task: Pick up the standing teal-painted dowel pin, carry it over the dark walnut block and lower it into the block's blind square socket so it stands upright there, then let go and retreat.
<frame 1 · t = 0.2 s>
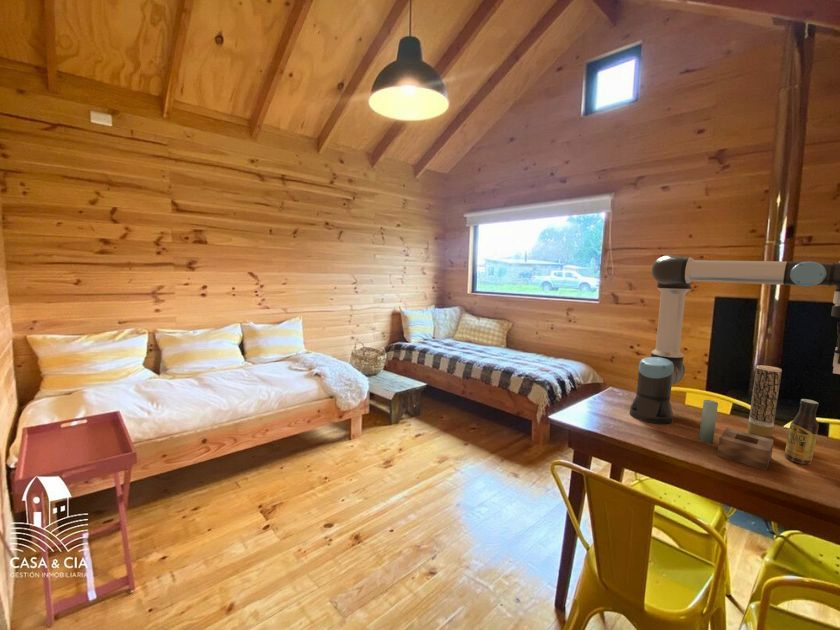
hand: (838, 370, 126), 28 cm above the table, fingers open, 13 cm apart
sauce bottle: (797, 461, 122), on the table
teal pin: (705, 440, 135), on the table
bore block: (744, 456, 124), on the table
bark-textured cylinder: (759, 434, 141), on the table
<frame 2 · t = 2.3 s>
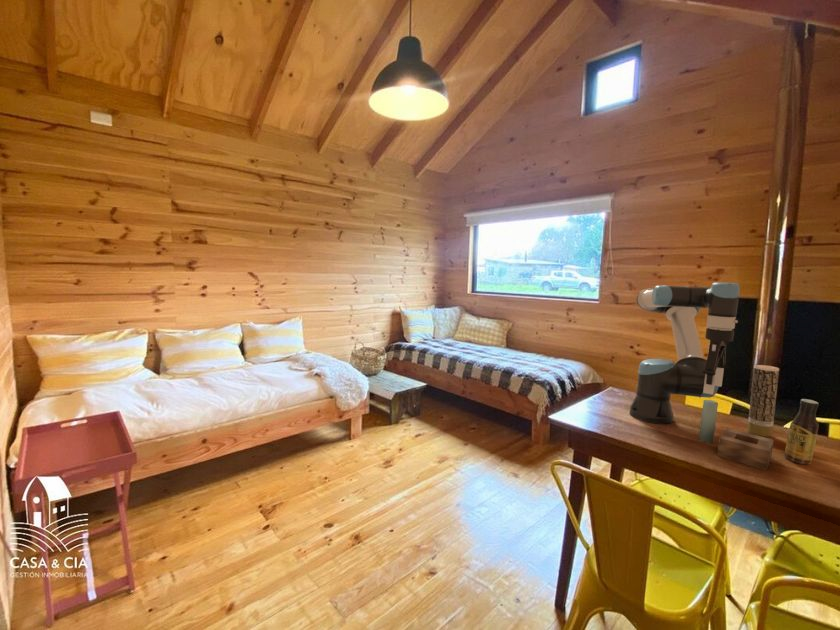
hand: (712, 389, 133), 18 cm above the table, fingers open, 13 cm apart
nothing on the table moved.
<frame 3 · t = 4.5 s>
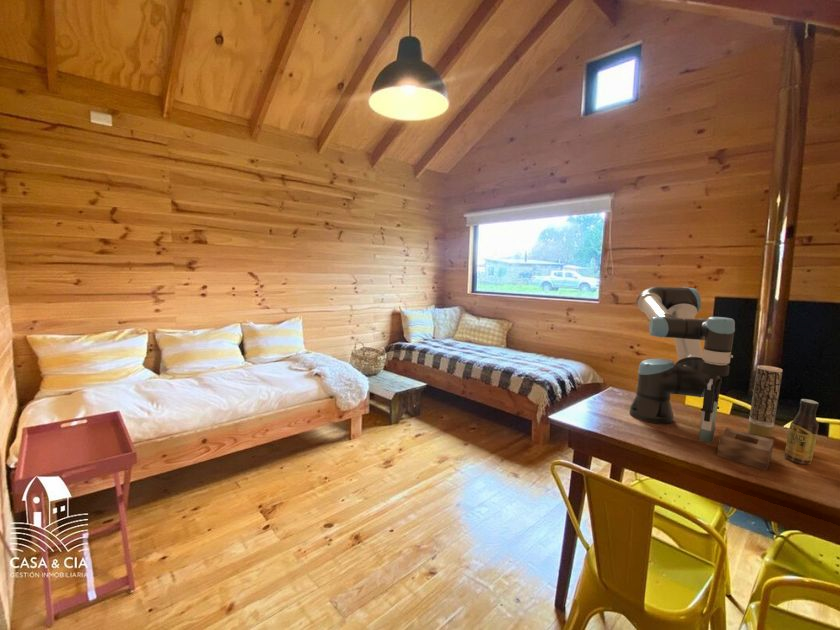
hand: (707, 427, 135), 5 cm above the table, fingers closed on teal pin, 4 cm apart
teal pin: (705, 440, 135), on the table, touching gripper
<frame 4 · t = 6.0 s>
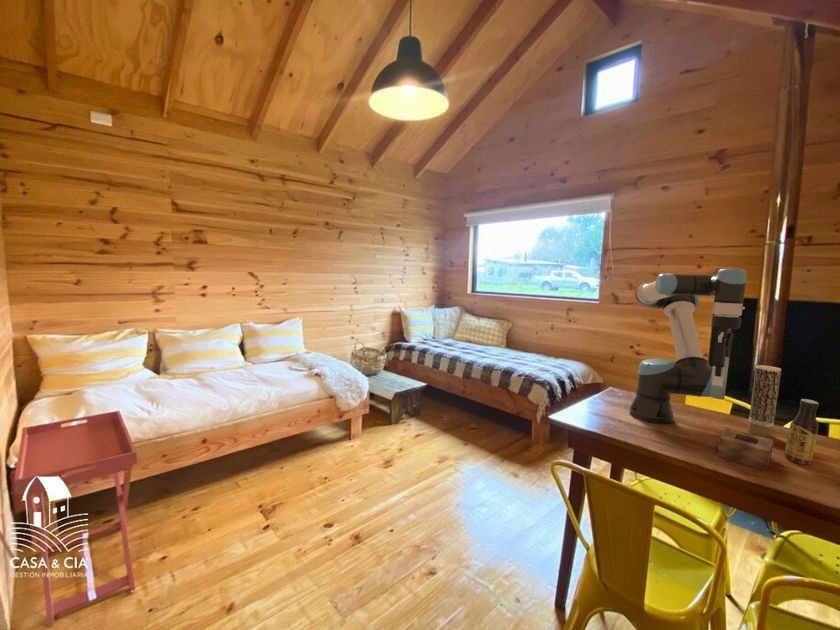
hand: (718, 384, 130), 21 cm above the table, fingers closed on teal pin, 4 cm apart
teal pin: (716, 397, 131), point 16 cm above the table, touching gripper
everything else where it was.
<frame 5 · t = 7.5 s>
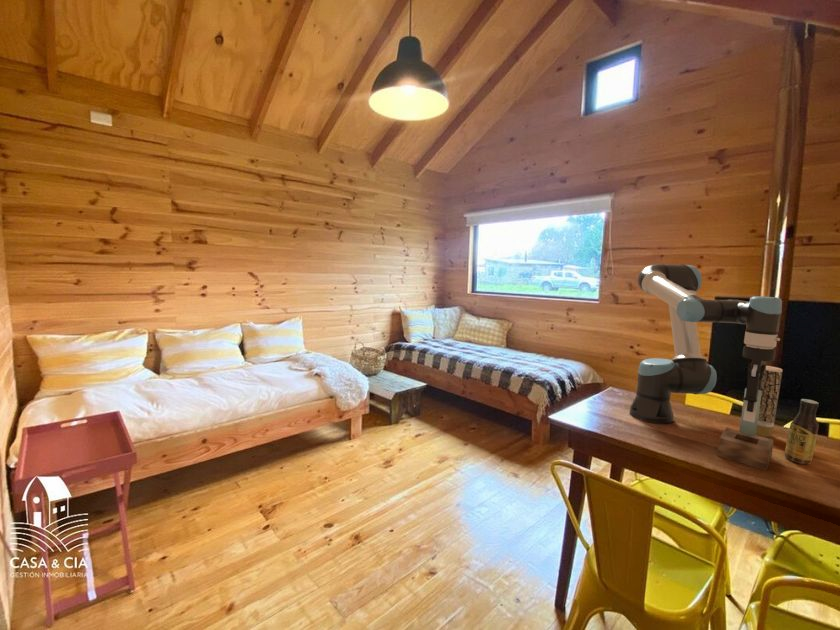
hand: (749, 418, 122), 13 cm above the table, fingers closed on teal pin, 4 cm apart
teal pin: (747, 432, 123), point 8 cm above the table, touching gripper
everything else where it was.
when the fingers open (7 cm above the table, at t = 9.6 s): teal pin stays where it is, resting on bore block.
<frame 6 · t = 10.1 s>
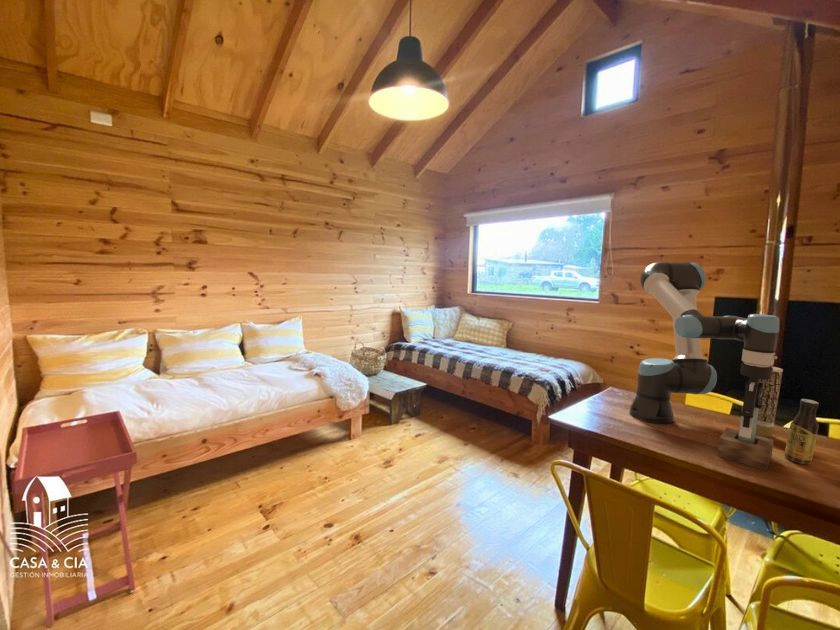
hand: (747, 431, 123), 8 cm above the table, fingers open, 11 cm apart
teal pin: (744, 450, 124), point 2 cm above the table, touching bore block
everything else where it was.
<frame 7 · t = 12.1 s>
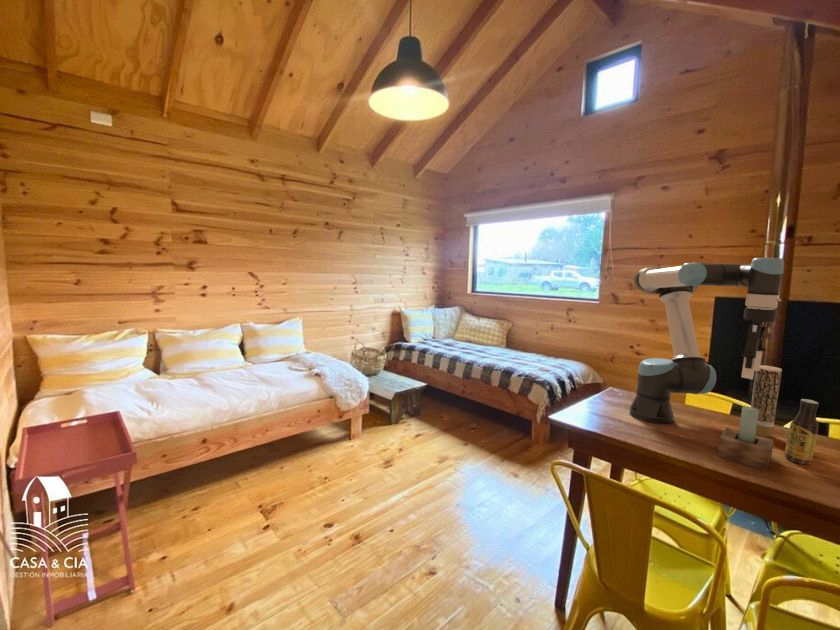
hand: (750, 374, 123), 27 cm above the table, fingers open, 13 cm apart
nothing on the table moved.
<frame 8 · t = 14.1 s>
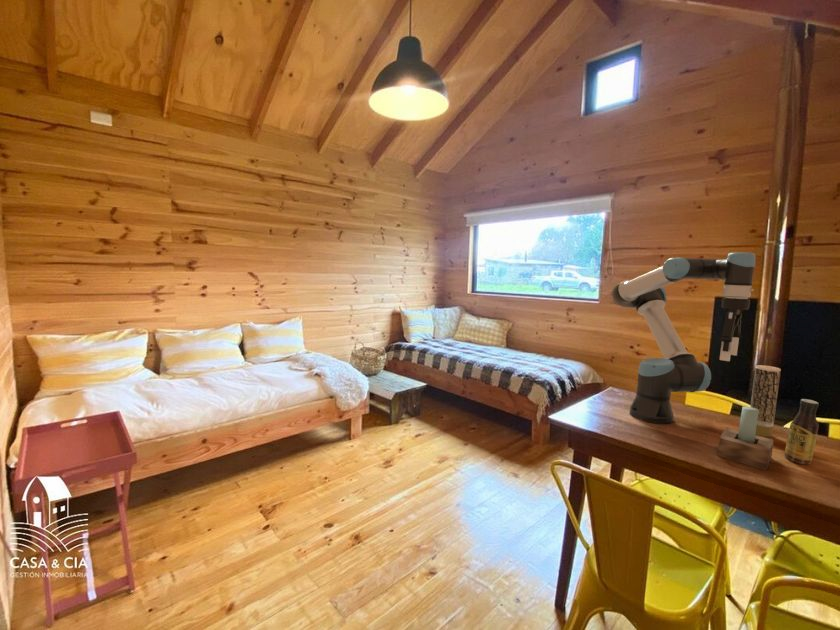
hand: (728, 357, 136), 29 cm above the table, fingers open, 13 cm apart
nothing on the table moved.
at the end: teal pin 0.1 cm off-centre on the bore block, point 2.0 cm above the bore block's base; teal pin tilted 0°; the gripper is holding nothing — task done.
